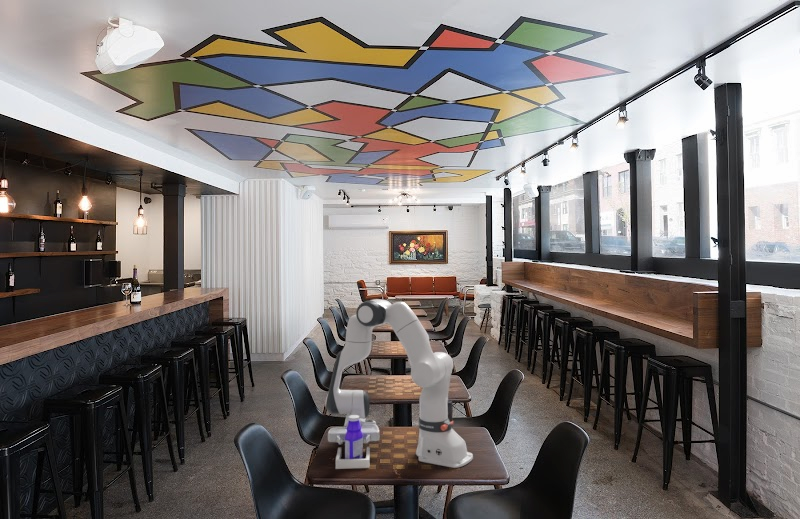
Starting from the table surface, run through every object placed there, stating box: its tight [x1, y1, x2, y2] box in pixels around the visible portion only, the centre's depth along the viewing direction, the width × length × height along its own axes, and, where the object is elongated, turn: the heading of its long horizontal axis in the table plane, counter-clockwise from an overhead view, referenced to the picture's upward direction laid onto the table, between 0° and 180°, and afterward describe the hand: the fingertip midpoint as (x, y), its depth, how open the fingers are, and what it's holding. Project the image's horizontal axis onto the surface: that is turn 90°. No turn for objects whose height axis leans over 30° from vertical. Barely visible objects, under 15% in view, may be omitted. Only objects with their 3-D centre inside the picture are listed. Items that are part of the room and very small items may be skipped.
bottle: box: [344, 415, 364, 459], centre depth 182 cm, size 7×6×17 cm
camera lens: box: [447, 397, 454, 428], centre depth 210 cm, size 8×8×15 cm
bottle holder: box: [335, 446, 371, 470], centre depth 183 cm, size 12×12×3 cm
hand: (352, 441), depth 181 cm, fingers open, 8 cm apart
